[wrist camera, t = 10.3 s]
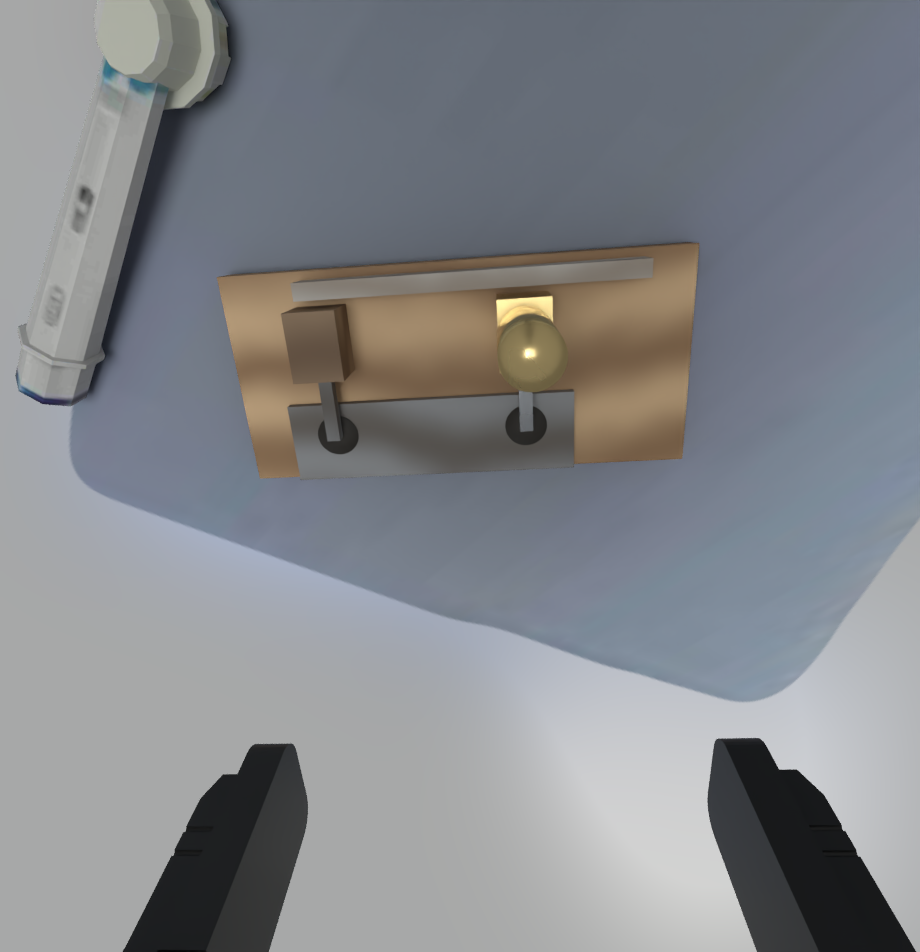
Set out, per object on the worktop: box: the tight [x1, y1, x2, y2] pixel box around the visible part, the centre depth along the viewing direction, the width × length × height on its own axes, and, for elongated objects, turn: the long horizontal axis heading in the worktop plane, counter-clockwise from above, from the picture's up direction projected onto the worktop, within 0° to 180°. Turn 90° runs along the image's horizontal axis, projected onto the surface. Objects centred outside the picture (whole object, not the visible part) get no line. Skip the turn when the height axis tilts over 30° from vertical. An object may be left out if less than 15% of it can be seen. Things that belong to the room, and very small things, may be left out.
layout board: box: [217, 242, 699, 480], centre depth 37 cm, size 13×28×4 cm, turn 94°
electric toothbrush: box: [16, 0, 231, 406], centre depth 34 cm, size 5×7×25 cm
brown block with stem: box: [281, 304, 355, 441], centre depth 36 cm, size 8×3×3 cm, turn 4°
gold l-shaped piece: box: [496, 291, 568, 432], centre depth 32 cm, size 8×3×9 cm, turn 4°
